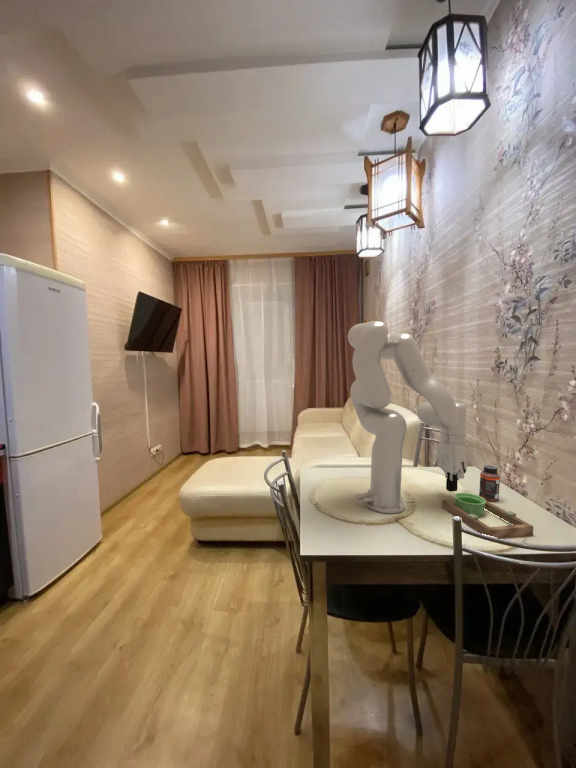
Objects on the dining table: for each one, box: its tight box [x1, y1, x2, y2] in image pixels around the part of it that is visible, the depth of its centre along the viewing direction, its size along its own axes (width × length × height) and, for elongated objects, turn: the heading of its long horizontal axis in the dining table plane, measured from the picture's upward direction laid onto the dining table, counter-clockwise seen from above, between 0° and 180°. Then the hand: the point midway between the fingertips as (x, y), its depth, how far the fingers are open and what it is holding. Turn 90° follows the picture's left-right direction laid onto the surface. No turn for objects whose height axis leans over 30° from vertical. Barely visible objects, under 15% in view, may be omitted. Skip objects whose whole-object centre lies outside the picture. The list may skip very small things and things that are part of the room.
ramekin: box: [453, 492, 487, 517], centre depth 112 cm, size 9×9×4 cm
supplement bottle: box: [478, 464, 501, 502], centre depth 123 cm, size 6×6×11 cm
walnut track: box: [441, 499, 534, 539], centre depth 106 cm, size 14×20×3 cm
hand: (451, 490), depth 122 cm, fingers closed
